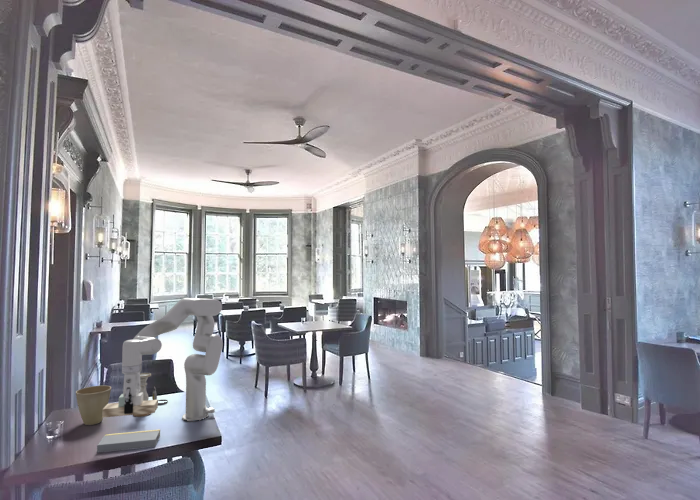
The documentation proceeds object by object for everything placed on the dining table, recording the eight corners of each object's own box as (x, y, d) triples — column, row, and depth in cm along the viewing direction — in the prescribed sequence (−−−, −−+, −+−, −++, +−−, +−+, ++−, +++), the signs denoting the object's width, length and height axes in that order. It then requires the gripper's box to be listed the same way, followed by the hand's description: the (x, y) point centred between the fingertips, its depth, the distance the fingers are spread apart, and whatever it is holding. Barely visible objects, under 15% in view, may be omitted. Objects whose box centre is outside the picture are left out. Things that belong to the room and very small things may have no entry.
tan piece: (157, 407, 183) (157, 399, 183) (154, 412, 176) (154, 404, 177) (107, 411, 178) (107, 403, 178) (102, 417, 171) (102, 409, 171)
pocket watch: (170, 402, 232) (170, 384, 233) (158, 406, 224) (159, 388, 225) (158, 400, 235) (159, 382, 235) (147, 405, 227) (147, 386, 227)
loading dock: (160, 436, 185) (160, 429, 185) (155, 446, 174) (155, 439, 174) (105, 441, 179) (105, 434, 179) (96, 452, 168) (97, 444, 168)
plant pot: (117, 418, 207) (118, 386, 207) (91, 429, 192) (92, 395, 193) (94, 415, 211) (94, 384, 211) (67, 426, 196) (68, 392, 197)
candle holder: (155, 413, 214) (156, 373, 215) (139, 418, 207) (140, 377, 208) (145, 410, 219) (146, 371, 220) (129, 415, 212) (130, 375, 212)
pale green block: (131, 402, 180) (132, 393, 180) (128, 406, 175) (129, 396, 175) (121, 403, 179) (121, 393, 179) (118, 407, 174) (118, 397, 174)
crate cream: (143, 401, 181) (143, 392, 181) (140, 405, 176) (140, 395, 176) (133, 402, 180) (133, 393, 180) (130, 406, 175) (130, 396, 175)
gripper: (136, 373, 171) (135, 416, 170) (145, 363, 187) (144, 403, 187) (116, 374, 169) (115, 418, 168) (127, 364, 185) (126, 404, 185)
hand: (130, 410), depth 177 cm, fingers closed on tan piece, 7 cm apart
